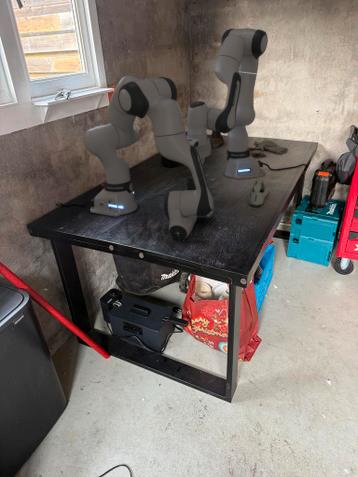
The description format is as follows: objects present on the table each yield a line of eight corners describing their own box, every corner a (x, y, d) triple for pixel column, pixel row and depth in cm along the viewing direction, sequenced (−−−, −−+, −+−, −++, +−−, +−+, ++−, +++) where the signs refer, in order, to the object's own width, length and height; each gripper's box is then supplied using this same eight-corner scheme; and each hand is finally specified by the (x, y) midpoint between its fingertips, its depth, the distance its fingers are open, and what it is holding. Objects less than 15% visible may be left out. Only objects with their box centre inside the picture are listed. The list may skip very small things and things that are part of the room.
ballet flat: (269, 188, 169) (270, 173, 165) (265, 208, 149) (266, 191, 145) (252, 187, 171) (253, 172, 167) (246, 206, 151) (247, 190, 147)
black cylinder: (197, 209, 152) (196, 174, 143) (200, 213, 148) (199, 178, 139) (187, 210, 151) (185, 175, 143) (189, 215, 147) (188, 179, 139)
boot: (224, 140, 260) (225, 113, 250) (221, 148, 240) (222, 119, 230) (213, 140, 262) (213, 113, 252) (210, 148, 242) (209, 119, 232)
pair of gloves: (252, 159, 212) (252, 151, 209) (231, 150, 233) (231, 143, 230) (289, 152, 222) (290, 144, 219) (266, 144, 242) (267, 137, 240)
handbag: (171, 168, 206) (169, 126, 194) (160, 166, 211) (156, 125, 198) (188, 159, 221) (187, 120, 209) (177, 157, 226) (175, 119, 213)
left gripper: (211, 209, 132) (216, 195, 144) (163, 206, 137) (171, 193, 148) (211, 223, 135) (216, 208, 147) (164, 220, 140) (172, 206, 152)
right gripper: (203, 134, 161) (203, 162, 167) (179, 143, 146) (179, 173, 153) (214, 136, 157) (213, 164, 164) (190, 145, 143) (191, 176, 150)
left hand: (193, 201), depth 148 cm, fingers closed on black cylinder, 5 cm apart
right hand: (197, 169), depth 159 cm, fingers closed on lid, 5 cm apart
